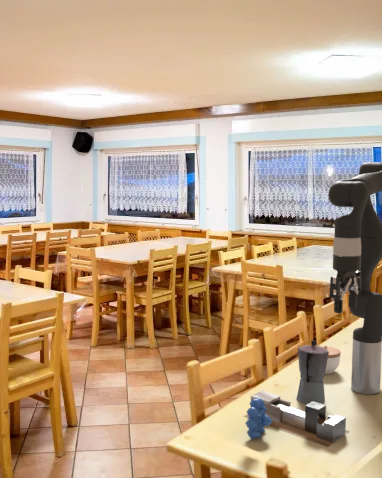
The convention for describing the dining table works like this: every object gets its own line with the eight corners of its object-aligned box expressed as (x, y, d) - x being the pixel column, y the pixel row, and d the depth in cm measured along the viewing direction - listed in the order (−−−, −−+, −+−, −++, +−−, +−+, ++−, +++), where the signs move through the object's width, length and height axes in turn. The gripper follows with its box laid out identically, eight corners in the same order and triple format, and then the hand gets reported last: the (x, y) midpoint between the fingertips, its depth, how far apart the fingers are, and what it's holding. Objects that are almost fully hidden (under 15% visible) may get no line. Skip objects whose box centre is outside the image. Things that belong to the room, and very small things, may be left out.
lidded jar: (343, 369, 202) (344, 344, 201) (334, 378, 193) (335, 352, 192) (315, 364, 208) (316, 340, 207) (305, 372, 199) (306, 347, 198)
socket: (329, 429, 150) (329, 412, 149) (345, 434, 147) (345, 417, 146) (316, 437, 145) (316, 420, 144) (332, 443, 142) (333, 425, 141)
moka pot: (329, 397, 176) (330, 336, 174) (324, 416, 161) (326, 350, 159) (299, 393, 179) (300, 333, 177) (292, 411, 165) (293, 347, 162)
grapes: (265, 453, 139) (266, 408, 138) (240, 448, 142) (241, 403, 141) (277, 434, 150) (278, 392, 149) (253, 429, 153) (254, 388, 151)
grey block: (279, 414, 159) (280, 391, 158) (336, 433, 147) (337, 408, 146) (271, 418, 156) (272, 394, 155) (329, 439, 144) (330, 413, 143)
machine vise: (267, 408, 167) (268, 387, 166) (349, 436, 149) (350, 413, 148) (243, 421, 158) (244, 398, 157) (327, 452, 140) (328, 427, 139)
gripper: (346, 249, 160) (345, 303, 162) (322, 254, 150) (320, 312, 152) (371, 251, 155) (369, 307, 157) (347, 257, 145) (345, 317, 147)
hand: (345, 310), depth 154 cm, fingers open, 8 cm apart
